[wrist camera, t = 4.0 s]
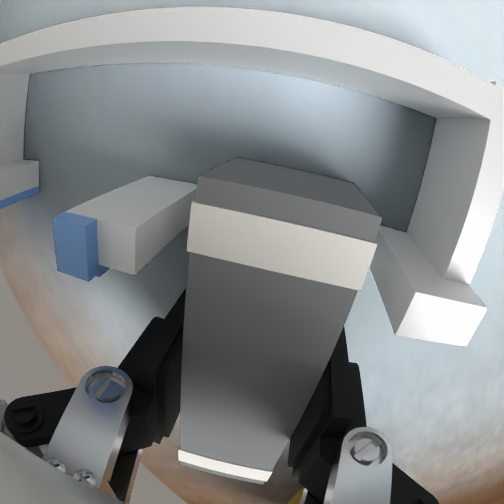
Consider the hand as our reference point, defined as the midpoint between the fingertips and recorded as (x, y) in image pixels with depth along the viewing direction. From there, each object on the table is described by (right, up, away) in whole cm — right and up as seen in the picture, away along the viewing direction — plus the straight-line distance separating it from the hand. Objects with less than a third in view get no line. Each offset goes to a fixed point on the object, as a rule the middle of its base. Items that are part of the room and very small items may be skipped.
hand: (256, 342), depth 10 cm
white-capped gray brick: (0, 0, +1) cm, 1 cm away
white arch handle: (-2, +7, -1) cm, 7 cm away
